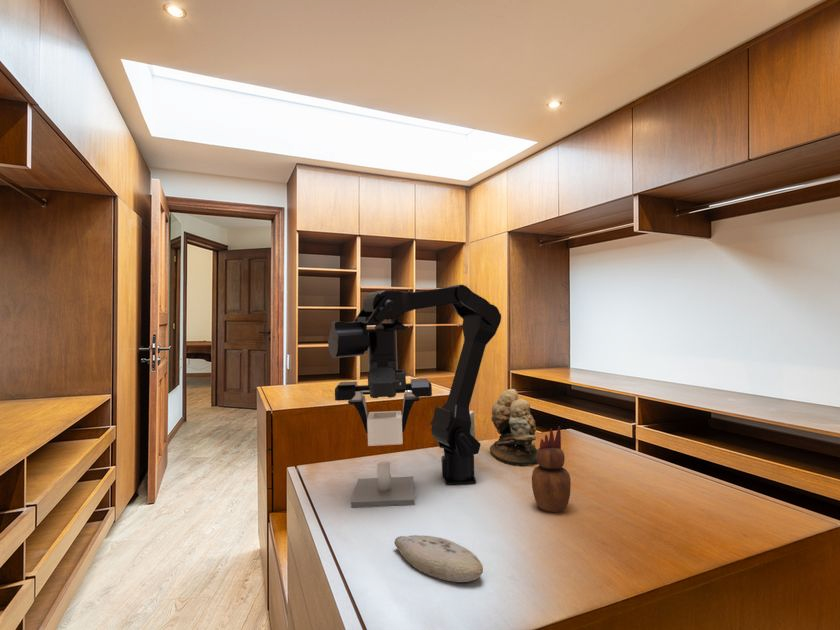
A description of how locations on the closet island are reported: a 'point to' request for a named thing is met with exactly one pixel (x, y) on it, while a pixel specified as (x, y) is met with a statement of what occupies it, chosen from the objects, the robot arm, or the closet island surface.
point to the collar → (384, 428)
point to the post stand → (383, 490)
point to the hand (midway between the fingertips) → (385, 432)
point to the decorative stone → (440, 558)
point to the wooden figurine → (551, 475)
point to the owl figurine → (513, 430)
